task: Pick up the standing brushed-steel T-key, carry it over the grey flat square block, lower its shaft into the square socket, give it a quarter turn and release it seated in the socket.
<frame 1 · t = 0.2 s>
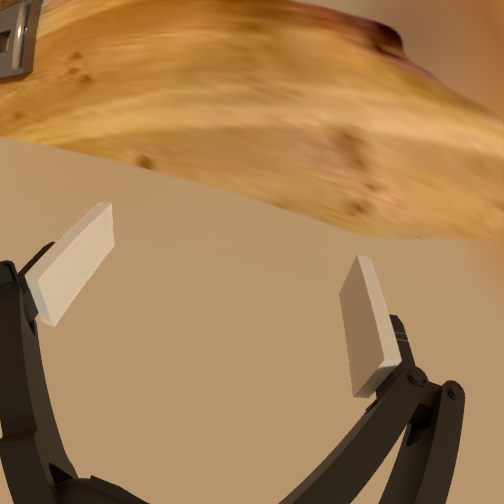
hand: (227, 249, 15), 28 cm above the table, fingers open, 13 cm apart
grey flat square block: (12, 40, 29), on the table
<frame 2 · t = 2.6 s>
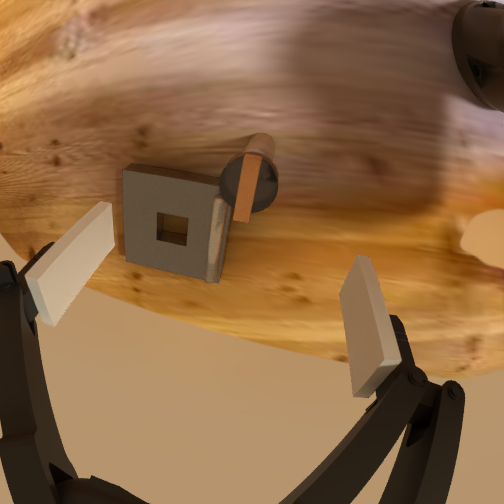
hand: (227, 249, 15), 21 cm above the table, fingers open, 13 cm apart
key: (261, 145, 33), on the table
grey flat square block: (177, 220, 40), on the table
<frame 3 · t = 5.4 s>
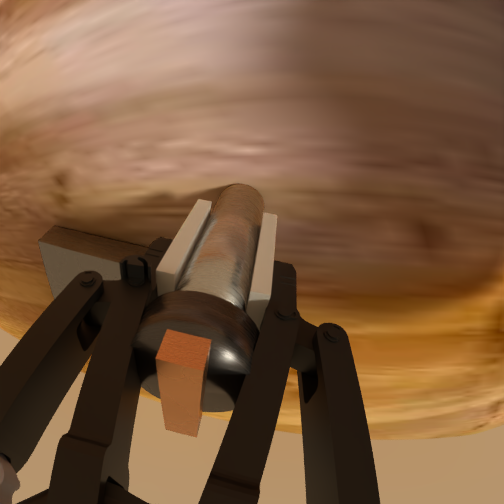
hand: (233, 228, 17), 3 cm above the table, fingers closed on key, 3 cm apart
key: (241, 205, 20), on the table, touching gripper
grey flat square block: (126, 303, 26), on the table
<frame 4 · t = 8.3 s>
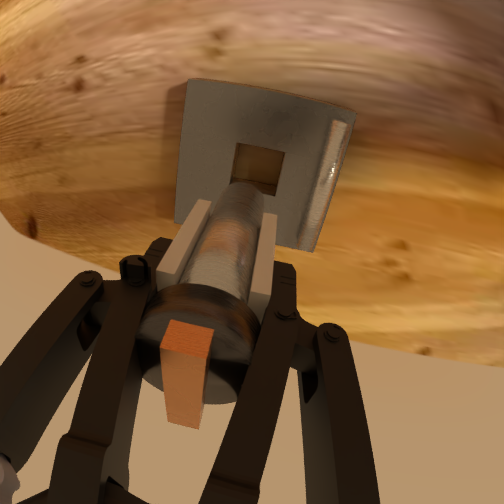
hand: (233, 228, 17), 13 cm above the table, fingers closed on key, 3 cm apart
key: (241, 203, 20), point 9 cm above the table, touching gripper
grey flat square block: (259, 161, 28), on the table
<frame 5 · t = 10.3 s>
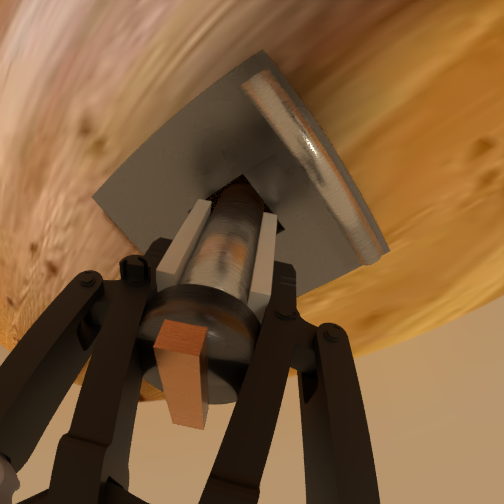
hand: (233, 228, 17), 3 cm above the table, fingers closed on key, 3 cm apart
key: (241, 203, 20), resting in grey flat square block, touching gripper
grey flat square block: (241, 202, 20), on the table
when the fingers open (3 cm above the table, at t = 11.4 s): key stays where it is, resting in grey flat square block.
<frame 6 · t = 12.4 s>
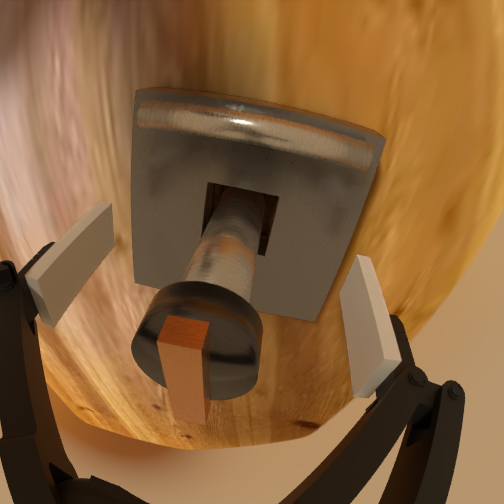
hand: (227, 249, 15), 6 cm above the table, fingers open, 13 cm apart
key: (242, 203, 20), resting in grey flat square block
grey flat square block: (243, 203, 20), on the table
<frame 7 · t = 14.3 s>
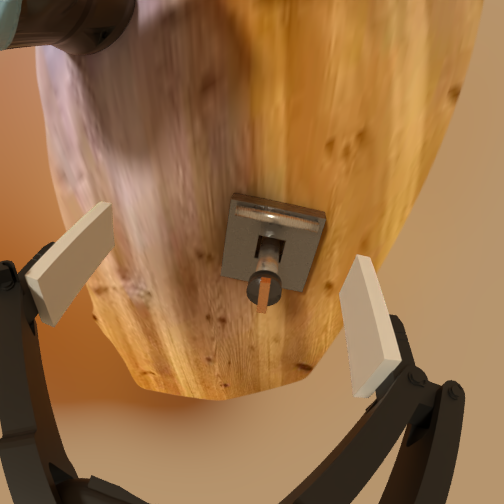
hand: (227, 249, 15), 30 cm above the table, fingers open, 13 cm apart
key: (270, 241, 49), resting in grey flat square block
grey flat square block: (270, 241, 49), on the table
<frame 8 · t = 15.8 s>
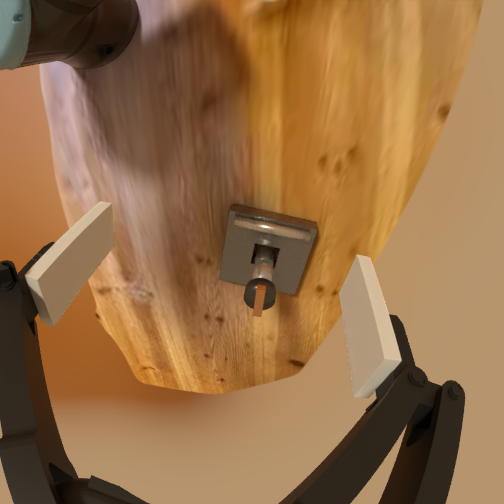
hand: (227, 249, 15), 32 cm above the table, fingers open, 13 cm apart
key: (265, 248, 53), resting in grey flat square block
grey flat square block: (266, 248, 53), on the table
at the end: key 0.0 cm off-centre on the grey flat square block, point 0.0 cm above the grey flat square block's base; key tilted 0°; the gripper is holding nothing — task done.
